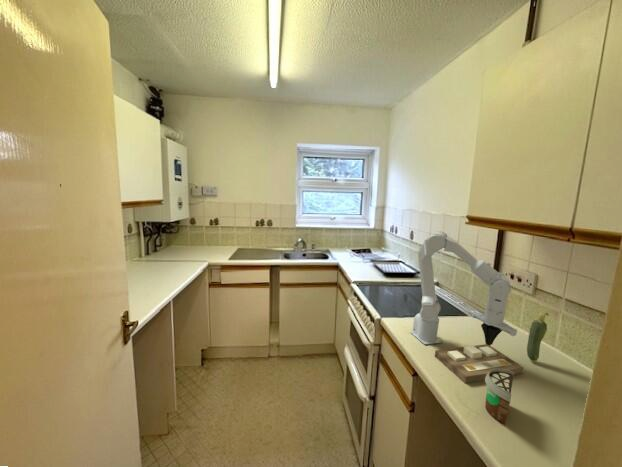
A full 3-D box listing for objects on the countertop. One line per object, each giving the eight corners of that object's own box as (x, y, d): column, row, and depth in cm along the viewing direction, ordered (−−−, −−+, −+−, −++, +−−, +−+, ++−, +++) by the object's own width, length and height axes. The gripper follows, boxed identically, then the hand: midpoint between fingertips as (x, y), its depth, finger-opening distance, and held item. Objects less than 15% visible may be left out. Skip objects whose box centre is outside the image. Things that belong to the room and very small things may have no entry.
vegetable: (521, 358, 101) (531, 308, 98) (528, 356, 103) (539, 306, 99) (534, 365, 97) (545, 313, 94) (542, 363, 99) (553, 312, 95)
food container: (483, 391, 83) (489, 361, 82) (508, 401, 80) (514, 371, 78) (477, 415, 74) (483, 383, 72) (504, 429, 70) (511, 395, 68)
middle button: (463, 352, 99) (464, 346, 99) (472, 351, 100) (473, 345, 100) (472, 359, 96) (473, 353, 95) (481, 358, 97) (482, 352, 96)
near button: (446, 357, 98) (447, 351, 97) (455, 356, 99) (456, 350, 98) (455, 364, 94) (456, 358, 94) (464, 363, 95) (465, 357, 95)
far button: (478, 353, 101) (479, 347, 101) (486, 352, 102) (487, 346, 102) (487, 360, 98) (488, 354, 97) (496, 358, 99) (497, 352, 98)
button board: (434, 356, 99) (435, 349, 99) (486, 349, 106) (487, 343, 105) (465, 383, 86) (466, 375, 86) (522, 373, 92) (523, 366, 92)
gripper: (469, 302, 101) (463, 335, 104) (511, 320, 89) (503, 358, 91) (480, 299, 105) (474, 332, 107) (523, 317, 92) (515, 353, 94)
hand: (488, 343), depth 99 cm, fingers closed
